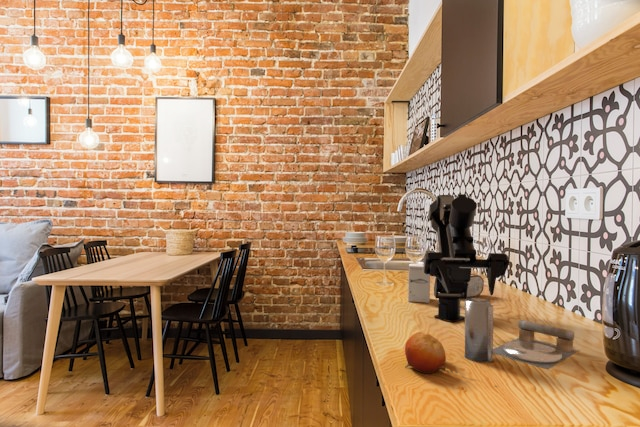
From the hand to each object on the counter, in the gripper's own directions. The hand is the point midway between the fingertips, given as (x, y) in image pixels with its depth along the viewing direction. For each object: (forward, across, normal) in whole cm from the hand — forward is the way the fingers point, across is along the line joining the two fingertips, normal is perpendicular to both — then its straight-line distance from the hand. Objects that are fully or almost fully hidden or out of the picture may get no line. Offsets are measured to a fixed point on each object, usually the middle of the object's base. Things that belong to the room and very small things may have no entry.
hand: (470, 293), depth 87 cm
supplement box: (-26, +6, -44) cm, 52 cm away
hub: (+14, 0, -5) cm, 15 cm away
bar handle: (+6, -17, -11) cm, 21 cm away
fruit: (+17, +11, -2) cm, 21 cm away
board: (+10, -13, -9) cm, 18 cm away
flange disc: (+10, -12, -7) cm, 17 cm away
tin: (-32, -12, -50) cm, 60 cm away
